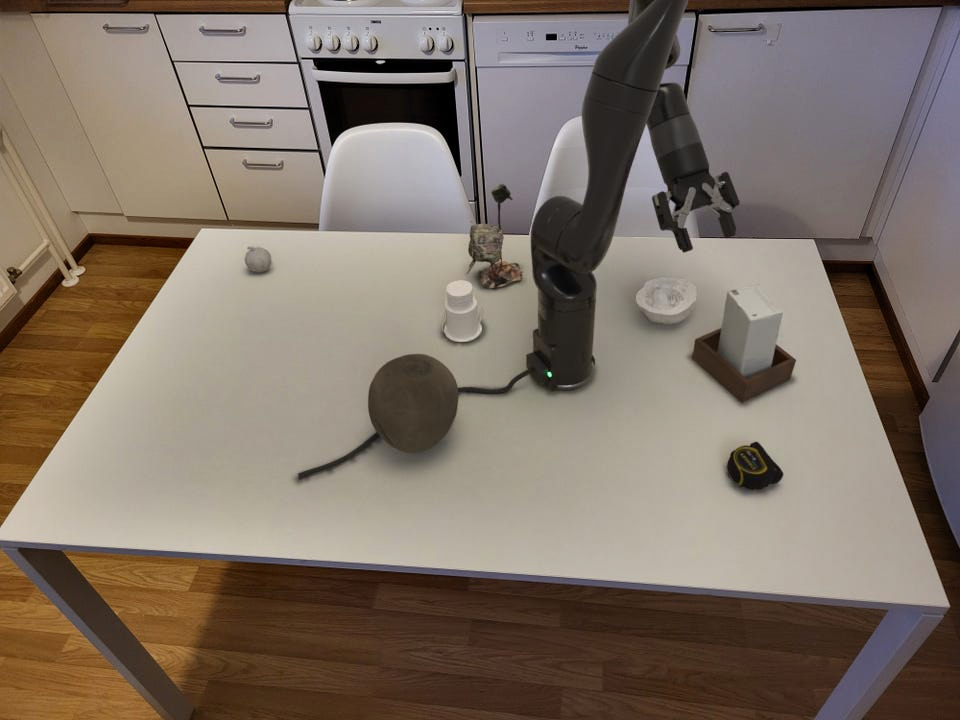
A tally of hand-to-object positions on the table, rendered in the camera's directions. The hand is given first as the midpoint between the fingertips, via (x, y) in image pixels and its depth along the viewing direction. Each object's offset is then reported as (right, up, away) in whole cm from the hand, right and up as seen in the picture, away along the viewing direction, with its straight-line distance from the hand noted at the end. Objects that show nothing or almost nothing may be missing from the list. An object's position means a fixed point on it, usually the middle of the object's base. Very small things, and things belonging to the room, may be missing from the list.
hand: (709, 243), depth 126 cm
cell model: (-3, -11, +17) cm, 21 cm away
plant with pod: (-35, -3, +28) cm, 45 cm away
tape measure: (+3, -36, -10) cm, 38 cm away
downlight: (-41, -14, +17) cm, 46 cm away
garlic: (-84, 0, +35) cm, 90 cm away
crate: (+7, -21, +6) cm, 22 cm away
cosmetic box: (+7, -21, +6) cm, 23 cm away
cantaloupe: (-48, -31, -1) cm, 57 cm away
